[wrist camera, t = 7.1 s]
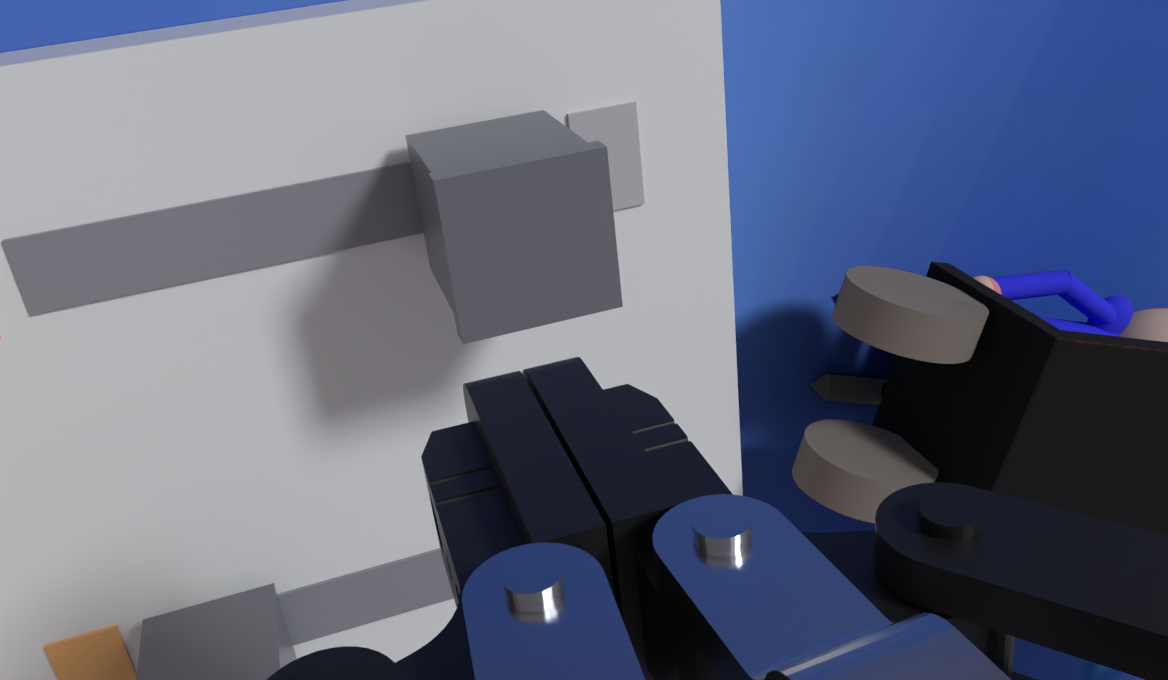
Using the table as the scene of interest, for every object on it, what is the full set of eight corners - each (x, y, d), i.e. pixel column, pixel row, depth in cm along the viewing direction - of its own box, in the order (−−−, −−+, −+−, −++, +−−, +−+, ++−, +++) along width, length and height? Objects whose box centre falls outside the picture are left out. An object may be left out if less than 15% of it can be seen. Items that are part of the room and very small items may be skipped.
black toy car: (726, 421, 32) (1131, 453, 36) (828, 565, 25) (1317, 586, 29) (781, 211, 29) (1208, 270, 33) (910, 306, 23) (1431, 366, 26)
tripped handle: (547, 104, 22) (606, 146, 19) (564, 243, 23) (622, 306, 20) (399, 131, 21) (433, 180, 18) (426, 273, 23) (462, 344, 19)
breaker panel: (682, -51, 24) (720, -45, 22) (719, 559, 32) (749, 601, 30) (-356, 106, 19) (-416, 131, 17) (-7, 780, 27) (-23, 845, 25)
